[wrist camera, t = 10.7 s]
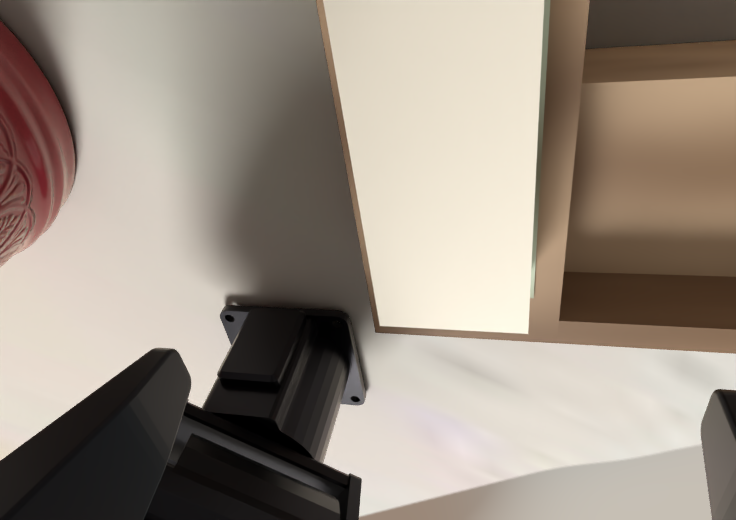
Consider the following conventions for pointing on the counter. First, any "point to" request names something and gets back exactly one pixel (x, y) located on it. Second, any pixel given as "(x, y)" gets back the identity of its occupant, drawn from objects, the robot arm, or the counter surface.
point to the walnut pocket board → (622, 193)
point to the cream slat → (443, 154)
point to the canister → (29, 150)
